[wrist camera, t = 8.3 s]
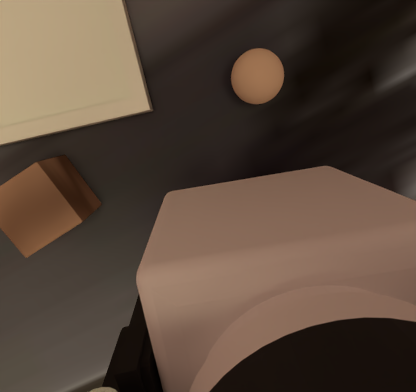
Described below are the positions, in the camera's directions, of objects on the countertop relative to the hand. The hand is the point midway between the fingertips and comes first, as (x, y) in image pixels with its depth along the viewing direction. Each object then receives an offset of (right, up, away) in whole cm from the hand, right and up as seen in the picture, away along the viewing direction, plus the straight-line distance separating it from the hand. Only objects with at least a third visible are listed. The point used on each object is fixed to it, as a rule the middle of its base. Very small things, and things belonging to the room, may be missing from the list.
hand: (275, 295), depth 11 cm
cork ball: (+1, +12, +12) cm, 17 cm away
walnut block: (-14, +3, +13) cm, 19 cm away
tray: (-14, +14, +11) cm, 23 cm away
